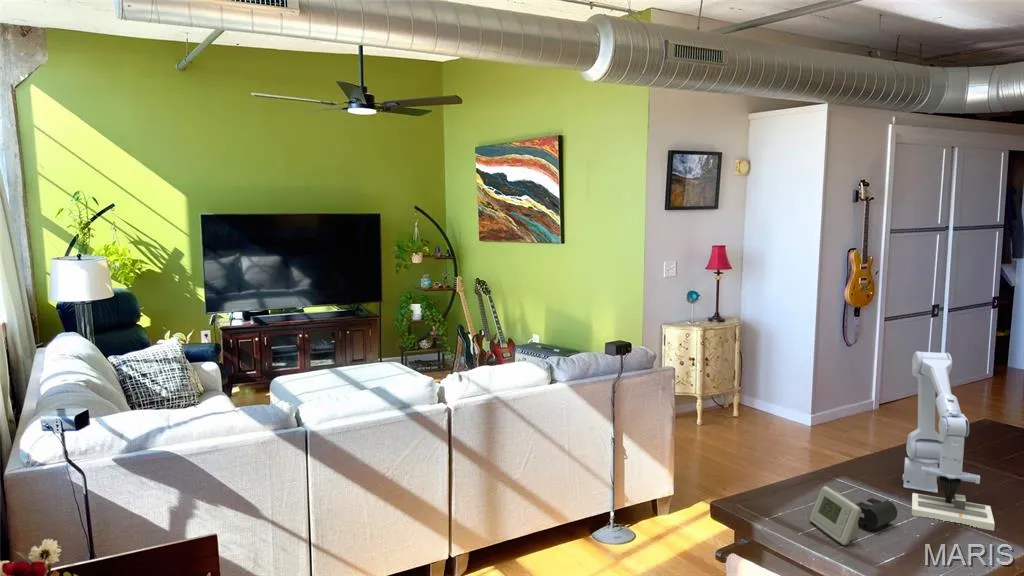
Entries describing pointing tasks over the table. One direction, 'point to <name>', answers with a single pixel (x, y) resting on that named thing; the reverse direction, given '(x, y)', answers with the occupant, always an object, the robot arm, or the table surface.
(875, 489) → the table surface
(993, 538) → the table surface
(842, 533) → the digital clock
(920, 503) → the console
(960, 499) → the fader tab
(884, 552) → the table surface
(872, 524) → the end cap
